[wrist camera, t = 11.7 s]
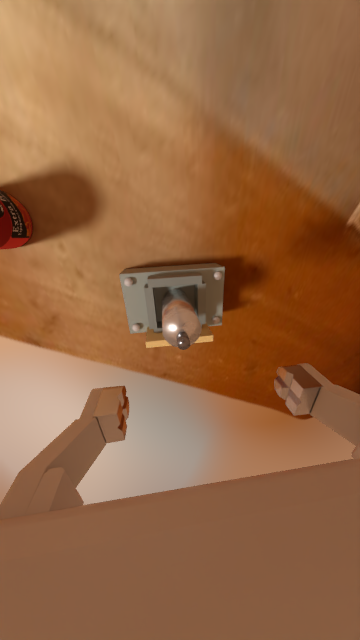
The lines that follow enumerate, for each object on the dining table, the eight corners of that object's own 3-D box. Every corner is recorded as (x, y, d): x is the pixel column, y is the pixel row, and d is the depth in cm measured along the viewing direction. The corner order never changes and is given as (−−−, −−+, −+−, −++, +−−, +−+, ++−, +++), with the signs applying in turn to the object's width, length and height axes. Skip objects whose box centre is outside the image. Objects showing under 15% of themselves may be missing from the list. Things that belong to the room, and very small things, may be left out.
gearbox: (124, 268, 31) (111, 281, 22) (215, 262, 32) (237, 272, 23) (133, 321, 35) (125, 349, 26) (213, 314, 37) (232, 339, 28)
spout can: (160, 289, 28) (160, 319, 18) (188, 287, 29) (204, 316, 18) (162, 315, 30) (164, 356, 20) (188, 313, 30) (203, 352, 20)
